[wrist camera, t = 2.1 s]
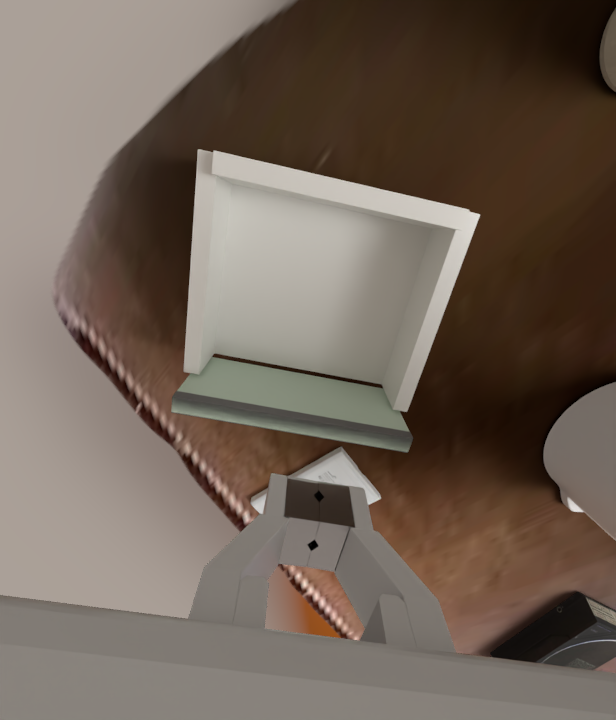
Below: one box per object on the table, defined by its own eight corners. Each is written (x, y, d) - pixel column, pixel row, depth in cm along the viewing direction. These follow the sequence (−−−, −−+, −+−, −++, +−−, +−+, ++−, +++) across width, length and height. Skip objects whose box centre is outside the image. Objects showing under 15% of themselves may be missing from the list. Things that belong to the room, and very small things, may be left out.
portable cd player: (654, 625, 48) (683, 659, 45) (563, 680, 54) (582, 714, 50) (577, 586, 45) (601, 619, 41) (488, 649, 51) (503, 683, 47)
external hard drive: (252, 493, 39) (340, 442, 36) (293, 534, 41) (379, 490, 39) (249, 504, 37) (342, 452, 35) (292, 546, 40) (382, 501, 37)
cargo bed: (444, 215, 27) (488, 214, 20) (390, 379, 32) (410, 418, 26) (221, 164, 25) (192, 145, 19) (205, 345, 31) (178, 377, 25)
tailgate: (389, 389, 31) (413, 438, 24) (385, 401, 31) (407, 452, 24) (204, 355, 30) (172, 396, 23) (203, 368, 30) (171, 412, 23)
